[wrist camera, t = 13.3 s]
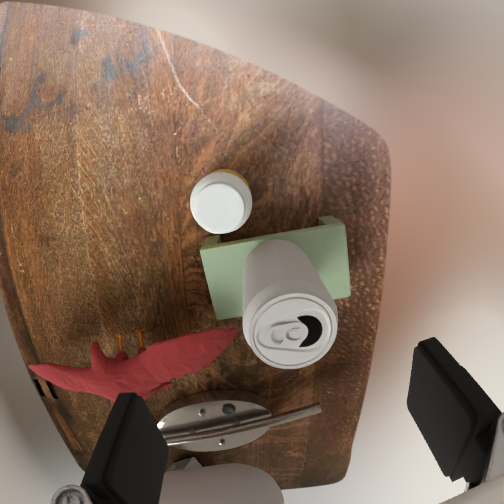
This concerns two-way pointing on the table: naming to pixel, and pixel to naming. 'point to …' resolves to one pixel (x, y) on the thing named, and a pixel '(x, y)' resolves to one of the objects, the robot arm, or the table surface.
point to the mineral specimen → (185, 464)
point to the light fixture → (221, 446)
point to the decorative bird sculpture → (140, 365)
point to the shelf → (235, 252)
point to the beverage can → (286, 306)
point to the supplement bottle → (221, 201)
